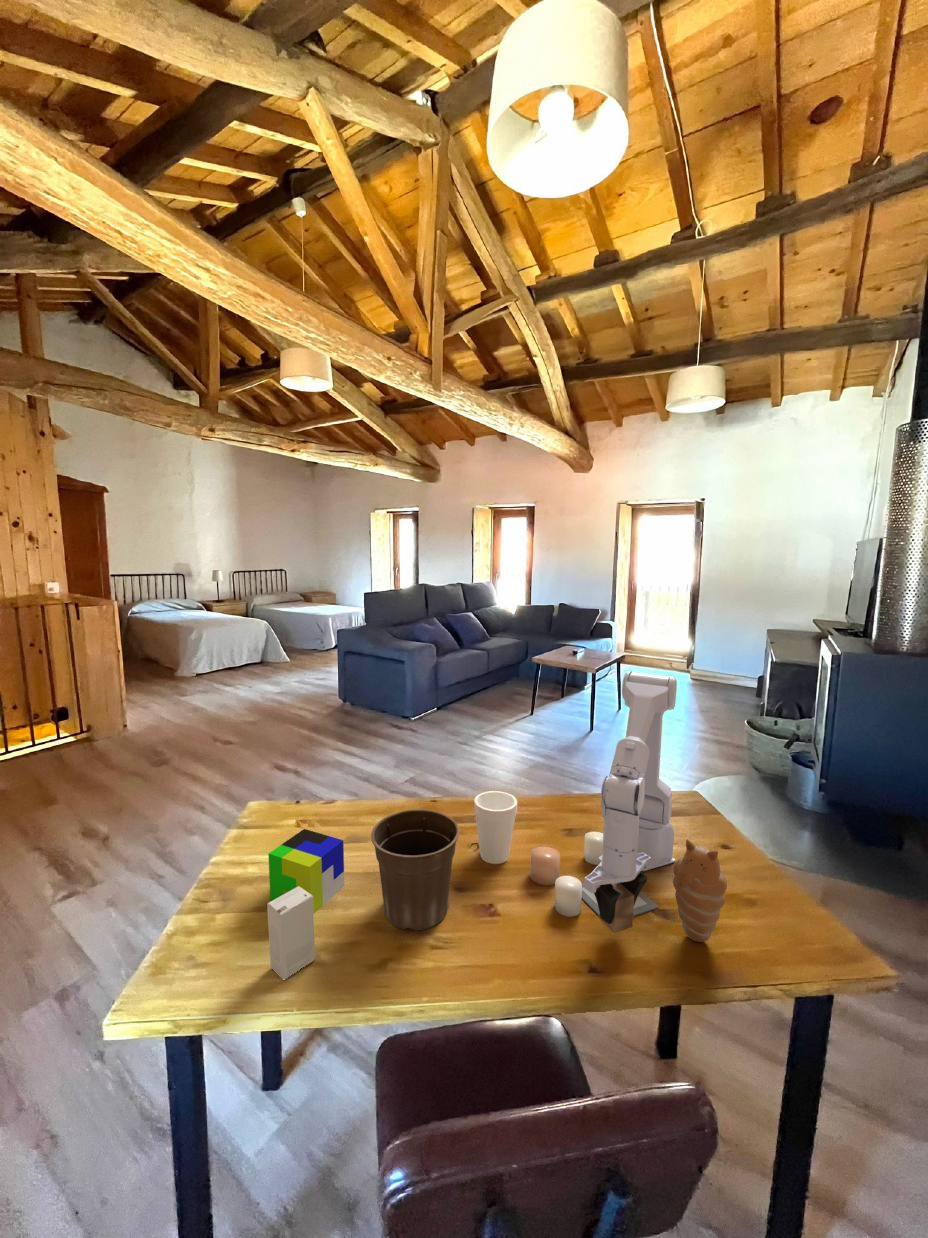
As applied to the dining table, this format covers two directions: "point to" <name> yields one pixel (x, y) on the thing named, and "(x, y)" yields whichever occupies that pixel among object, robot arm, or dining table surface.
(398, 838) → the plant pot
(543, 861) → the peach rounded blob
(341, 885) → the puzzle toy
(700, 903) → the cat ice cream
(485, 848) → the foam cup
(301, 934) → the skincare box
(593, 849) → the cream rounded cylinder
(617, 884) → the walnut block
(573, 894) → the cream rounded capsule
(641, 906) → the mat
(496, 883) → the dining table surface
